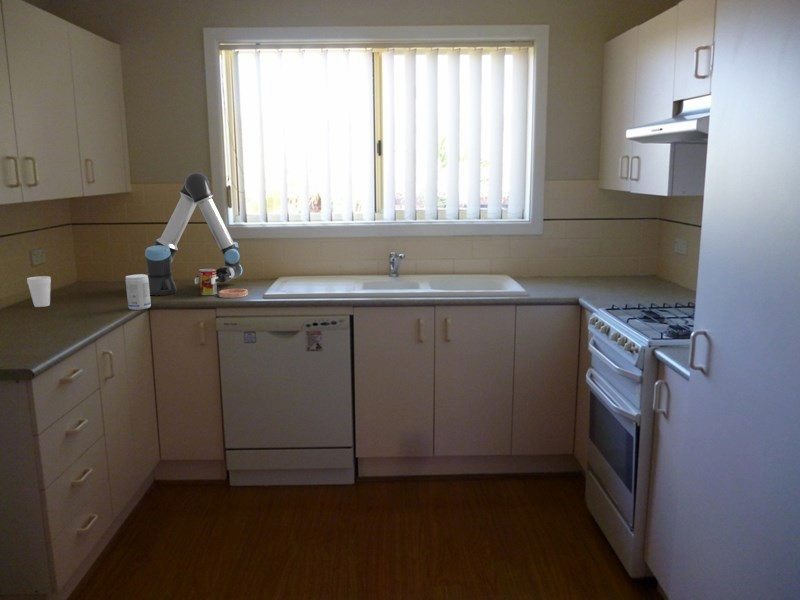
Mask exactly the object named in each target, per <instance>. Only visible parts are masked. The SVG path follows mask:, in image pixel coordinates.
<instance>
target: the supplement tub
mask: <svg viewBox="0 0 800 600" xmlns="http://www.w3.org/2000/svg"><path fill="white" fill-rule="evenodd" d="M124 278H125V288H126V290H125V291H126V298H127V306H128V307H127V308H128V309H129V310H133V311H139V310H140V311H141V310H145V309H150V308H151V306H152V302H151V301H152V300H151V296H150V290H149V281H148V275H147V274H144V273H140V274H138V273H137V274H131V275H126V276H125V277H124Z"/></svg>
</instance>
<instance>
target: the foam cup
mask: <svg viewBox="0 0 800 600" xmlns="http://www.w3.org/2000/svg"><path fill="white" fill-rule="evenodd" d="M51 282H52V277H51V276H47V275H42V276H41V275H40V276H30V277H27V278H26V283H27V285H28V288H29V292H30V296H31V300H32V303H33V306H34V307H35V308H41V307H43V308H44V307H48V306H51Z"/></svg>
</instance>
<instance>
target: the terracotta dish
mask: <svg viewBox="0 0 800 600" xmlns="http://www.w3.org/2000/svg"><path fill="white" fill-rule="evenodd" d="M248 295H249V290H248V289H245V288H227V289H221V290H219V291H218V297H219V298H224V299H229V298H231V299H234V298H235V299H237V298H242V297H247V296H248Z"/></svg>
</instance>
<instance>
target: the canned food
mask: <svg viewBox="0 0 800 600" xmlns="http://www.w3.org/2000/svg"><path fill="white" fill-rule="evenodd" d="M198 270H199V271H198V273H199V274H198V276H199V275H200V283H199V286H200V288H199V290H200V295H201V296H213V295H214V296H215V295H217V294H218V287H217V285H218V284H217V283H215V284H211V279H212V278H215V277H216V270H217V268H216V269H215V268H203V269H202V268H201V269H198Z"/></svg>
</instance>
